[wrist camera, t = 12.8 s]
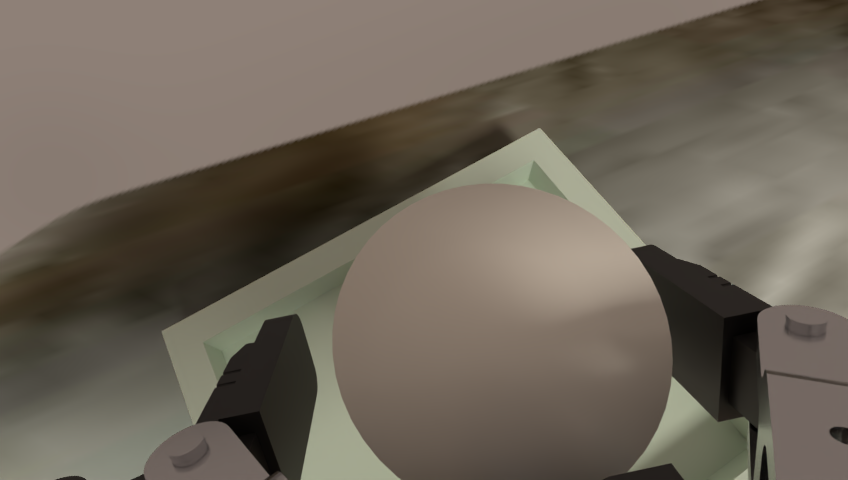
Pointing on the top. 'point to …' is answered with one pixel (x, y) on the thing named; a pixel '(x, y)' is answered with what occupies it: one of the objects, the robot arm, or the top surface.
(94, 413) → the top surface
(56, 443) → the top surface
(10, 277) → the top surface
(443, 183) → the tray
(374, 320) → the white domed cylinder
